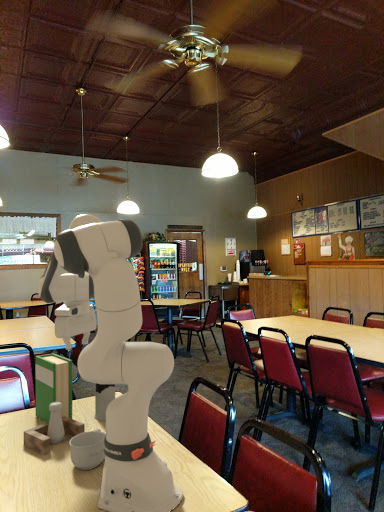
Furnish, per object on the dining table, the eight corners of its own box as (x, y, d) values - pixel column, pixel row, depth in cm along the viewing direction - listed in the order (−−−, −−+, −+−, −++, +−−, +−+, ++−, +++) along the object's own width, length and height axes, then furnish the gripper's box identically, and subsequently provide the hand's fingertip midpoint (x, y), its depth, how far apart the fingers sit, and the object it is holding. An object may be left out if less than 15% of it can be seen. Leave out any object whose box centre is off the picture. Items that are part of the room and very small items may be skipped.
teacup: (93, 476, 106) (93, 448, 106) (61, 470, 109) (61, 443, 109) (118, 453, 119) (118, 428, 119) (89, 449, 122) (89, 424, 123)
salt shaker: (64, 443, 126) (64, 404, 127) (46, 446, 125) (46, 407, 125) (64, 436, 132) (64, 399, 132) (47, 439, 130) (47, 401, 131)
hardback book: (72, 423, 144) (71, 360, 144) (53, 428, 138) (53, 363, 139) (53, 410, 156) (53, 353, 157) (35, 415, 151) (35, 356, 152)
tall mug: (101, 422, 144) (100, 383, 144) (84, 412, 154) (83, 375, 155) (120, 416, 149) (120, 378, 150) (103, 406, 160) (102, 371, 160)
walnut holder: (84, 436, 131) (84, 423, 132) (43, 455, 119) (43, 440, 119) (64, 428, 139) (64, 416, 139) (23, 445, 126) (23, 431, 126)
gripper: (86, 305, 146) (86, 340, 146) (51, 311, 127) (51, 352, 127) (100, 305, 144) (100, 341, 144) (66, 311, 125) (66, 353, 125)
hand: (77, 346), depth 135 cm, fingers open, 8 cm apart
